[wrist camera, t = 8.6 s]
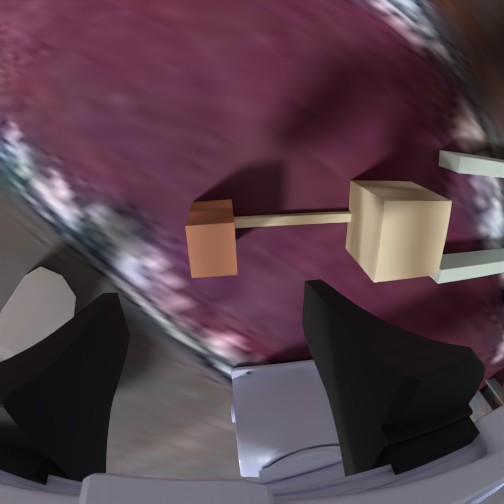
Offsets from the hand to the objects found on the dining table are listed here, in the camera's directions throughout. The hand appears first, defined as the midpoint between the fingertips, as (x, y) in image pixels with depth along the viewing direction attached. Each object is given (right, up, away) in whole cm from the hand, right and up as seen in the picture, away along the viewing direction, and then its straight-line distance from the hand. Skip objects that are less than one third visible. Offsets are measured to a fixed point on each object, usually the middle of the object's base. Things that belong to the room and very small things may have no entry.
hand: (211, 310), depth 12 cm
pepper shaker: (-15, -1, +10) cm, 18 cm away
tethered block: (+6, +5, +9) cm, 12 cm away
